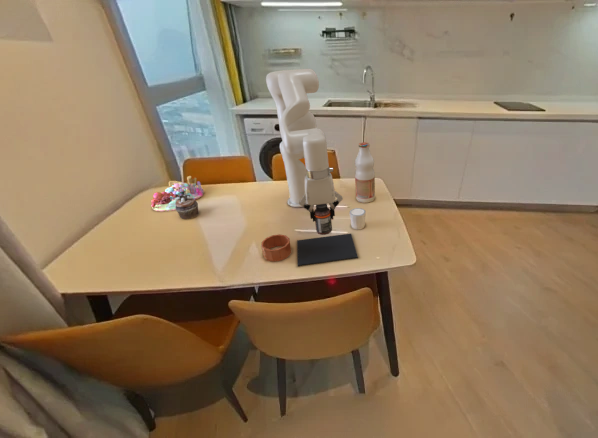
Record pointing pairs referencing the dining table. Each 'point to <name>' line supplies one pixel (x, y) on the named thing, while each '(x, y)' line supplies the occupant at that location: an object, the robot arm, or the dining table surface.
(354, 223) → the white cup
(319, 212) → the supplement bottle
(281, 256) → the holder
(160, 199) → the candy platter
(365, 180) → the fruit juice
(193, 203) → the cupcake
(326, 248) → the mat
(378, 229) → the dining table surface
